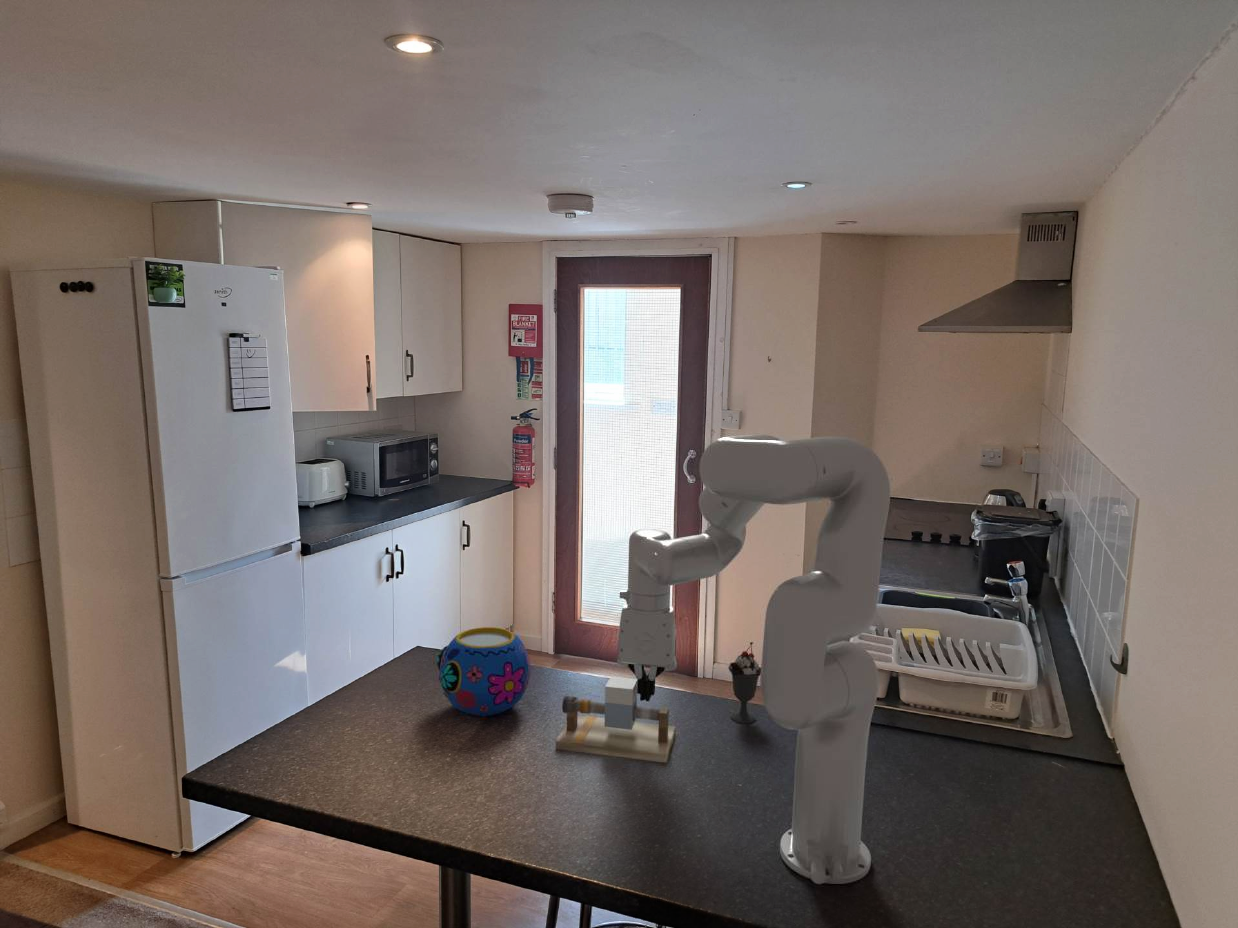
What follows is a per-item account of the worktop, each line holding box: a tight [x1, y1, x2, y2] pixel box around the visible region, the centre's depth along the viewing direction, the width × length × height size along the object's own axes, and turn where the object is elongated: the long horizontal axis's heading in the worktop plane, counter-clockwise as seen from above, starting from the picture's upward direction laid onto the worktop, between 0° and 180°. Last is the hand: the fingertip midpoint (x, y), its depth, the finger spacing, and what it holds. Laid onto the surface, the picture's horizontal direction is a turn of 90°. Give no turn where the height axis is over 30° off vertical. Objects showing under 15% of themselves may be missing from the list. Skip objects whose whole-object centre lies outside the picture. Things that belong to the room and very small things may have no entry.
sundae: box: [727, 641, 761, 725], centre depth 159 cm, size 7×7×15 cm
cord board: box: [555, 695, 676, 764], centre depth 149 cm, size 11×20×8 cm, turn 78°
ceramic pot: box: [436, 626, 532, 716], centre depth 161 cm, size 18×18×15 cm
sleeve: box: [604, 676, 638, 730], centre depth 149 cm, size 5×5×8 cm
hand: (645, 697), depth 148 cm, fingers closed
